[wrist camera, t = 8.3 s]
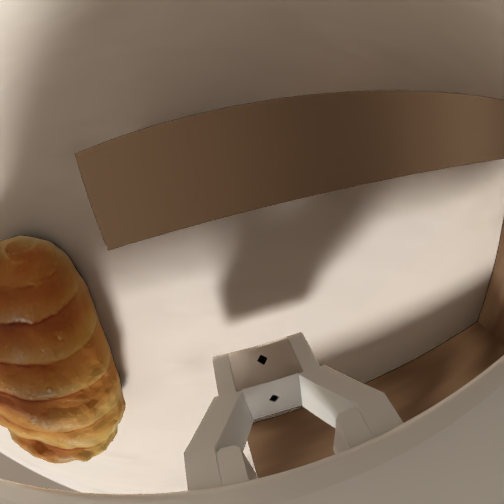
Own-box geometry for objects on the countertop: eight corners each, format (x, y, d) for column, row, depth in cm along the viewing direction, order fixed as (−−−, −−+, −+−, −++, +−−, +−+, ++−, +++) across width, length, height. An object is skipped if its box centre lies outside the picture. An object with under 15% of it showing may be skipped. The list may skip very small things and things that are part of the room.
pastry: (-37, 216, 7) (-100, 267, 3) (127, 237, 9) (102, 313, 5) (10, 391, 10) (-7, 449, 7) (129, 414, 12) (129, 481, 9)
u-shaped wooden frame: (518, 102, 9) (592, 123, 5) (482, 327, 16) (523, 367, 12) (138, 130, 7) (74, 153, 3) (248, 435, 14) (270, 512, 10)
